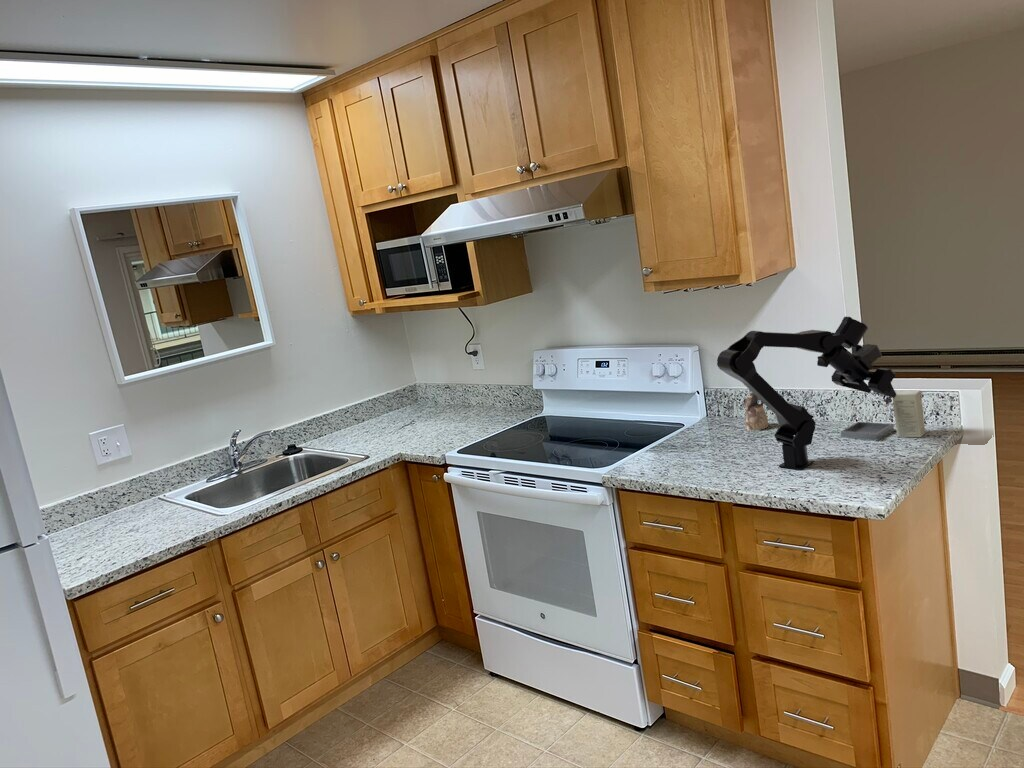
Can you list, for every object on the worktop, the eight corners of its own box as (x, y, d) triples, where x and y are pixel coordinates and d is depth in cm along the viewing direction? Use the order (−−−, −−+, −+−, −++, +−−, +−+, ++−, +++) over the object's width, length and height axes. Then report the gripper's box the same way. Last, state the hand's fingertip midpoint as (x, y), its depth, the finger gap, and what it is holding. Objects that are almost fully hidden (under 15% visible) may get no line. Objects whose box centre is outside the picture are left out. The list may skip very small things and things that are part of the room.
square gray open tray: (877, 440, 210) (876, 434, 210) (840, 437, 218) (840, 431, 218) (894, 430, 217) (893, 424, 216) (858, 427, 225) (857, 421, 224)
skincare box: (925, 433, 209) (922, 390, 207) (921, 438, 206) (917, 394, 204) (900, 432, 214) (896, 390, 212) (895, 436, 211) (891, 394, 209)
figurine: (744, 426, 246) (739, 390, 244) (767, 423, 245) (762, 387, 243) (746, 432, 240) (741, 395, 237) (770, 429, 238) (765, 392, 236)
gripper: (886, 339, 193) (925, 372, 198) (836, 334, 211) (873, 365, 215) (862, 375, 193) (902, 408, 197) (814, 367, 210) (852, 398, 215)
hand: (882, 393), depth 206 cm, fingers open, 9 cm apart
